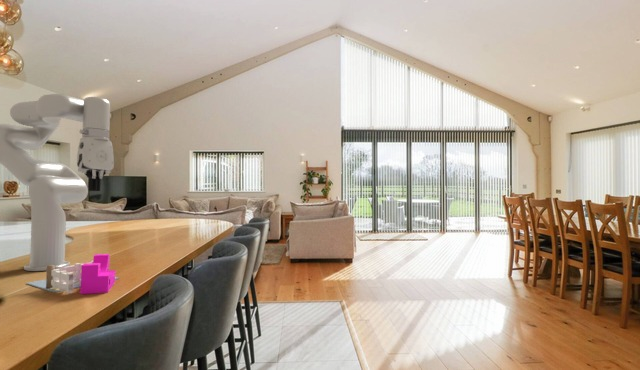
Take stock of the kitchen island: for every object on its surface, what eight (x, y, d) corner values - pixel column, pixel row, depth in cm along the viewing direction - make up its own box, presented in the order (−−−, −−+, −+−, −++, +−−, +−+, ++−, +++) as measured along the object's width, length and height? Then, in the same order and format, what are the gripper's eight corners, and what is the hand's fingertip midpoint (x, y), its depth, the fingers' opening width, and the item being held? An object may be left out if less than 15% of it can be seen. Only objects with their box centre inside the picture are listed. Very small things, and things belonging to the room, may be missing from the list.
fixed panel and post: (44, 289, 97) (45, 265, 97) (52, 287, 98) (53, 264, 98) (66, 295, 91) (67, 271, 91) (74, 294, 93) (74, 269, 93)
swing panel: (58, 285, 98) (59, 267, 98) (56, 284, 99) (56, 266, 99) (95, 277, 107) (96, 260, 107) (93, 276, 108) (94, 260, 108)
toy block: (107, 292, 95) (108, 264, 95) (80, 294, 92) (81, 265, 92) (117, 277, 109) (118, 253, 109) (94, 279, 106) (95, 254, 106)
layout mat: (26, 283, 101) (26, 282, 101) (90, 272, 117) (90, 270, 117) (54, 292, 93) (54, 290, 93) (119, 278, 109) (119, 277, 109)
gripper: (82, 131, 108) (80, 191, 108) (124, 138, 122) (122, 191, 122) (65, 132, 110) (63, 190, 110) (107, 139, 124) (106, 190, 124)
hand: (94, 190), depth 116 cm, fingers closed
